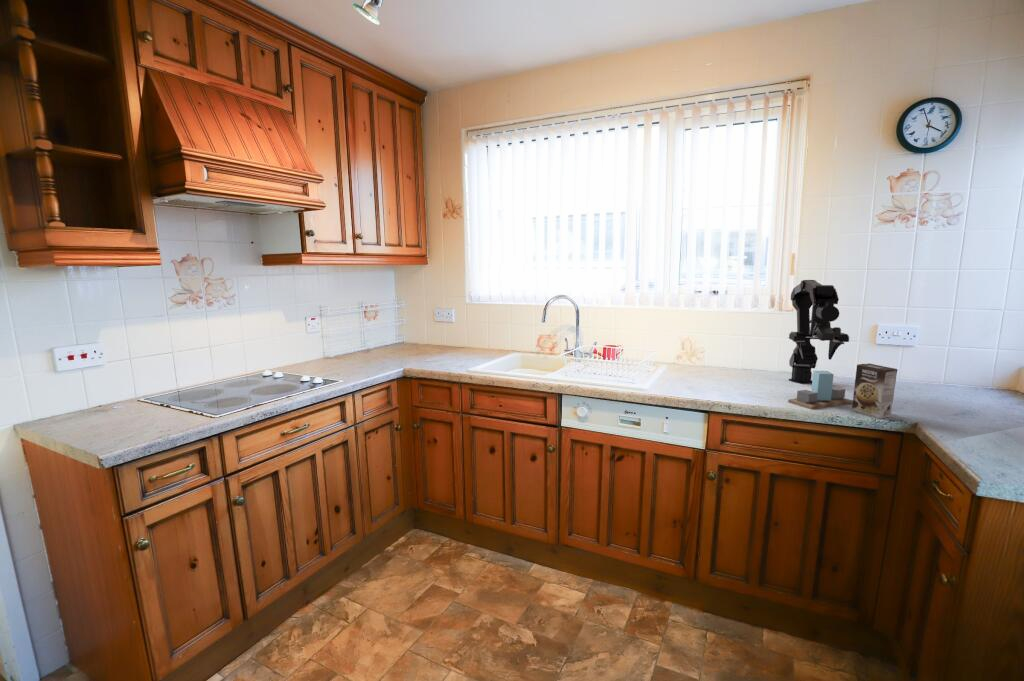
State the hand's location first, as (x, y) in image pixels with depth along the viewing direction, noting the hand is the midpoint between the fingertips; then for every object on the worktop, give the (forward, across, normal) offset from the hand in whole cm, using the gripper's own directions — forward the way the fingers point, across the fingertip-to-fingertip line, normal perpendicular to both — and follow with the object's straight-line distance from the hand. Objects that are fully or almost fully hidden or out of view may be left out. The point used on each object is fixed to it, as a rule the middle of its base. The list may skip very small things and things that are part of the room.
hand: (816, 359), depth 183 cm
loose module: (+11, -3, -14) cm, 19 cm away
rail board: (+13, -3, -14) cm, 20 cm away
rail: (+13, -3, -14) cm, 20 cm away
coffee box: (+13, +8, -26) cm, 30 cm away
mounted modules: (+11, -3, -14) cm, 19 cm away
